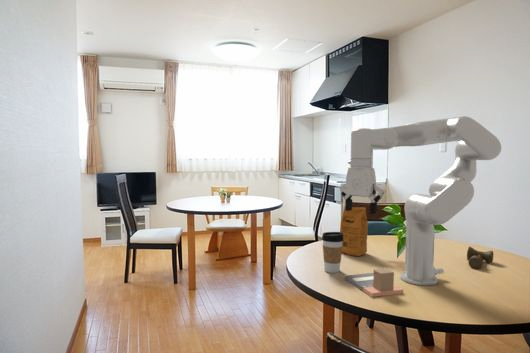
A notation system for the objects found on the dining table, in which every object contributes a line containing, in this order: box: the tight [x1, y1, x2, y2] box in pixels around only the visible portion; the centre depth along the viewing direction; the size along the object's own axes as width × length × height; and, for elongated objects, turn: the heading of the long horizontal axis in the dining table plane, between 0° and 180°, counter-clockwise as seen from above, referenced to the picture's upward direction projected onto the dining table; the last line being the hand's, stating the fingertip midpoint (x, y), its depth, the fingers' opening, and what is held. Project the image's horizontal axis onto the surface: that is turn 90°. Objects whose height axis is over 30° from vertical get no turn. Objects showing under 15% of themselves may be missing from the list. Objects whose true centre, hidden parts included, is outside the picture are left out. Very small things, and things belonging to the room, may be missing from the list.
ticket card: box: [344, 272, 374, 292], centre depth 126 cm, size 12×12×1 cm
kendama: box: [466, 246, 494, 270], centre depth 150 cm, size 6×10×20 cm
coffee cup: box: [321, 231, 344, 274], centre depth 139 cm, size 8×8×15 cm
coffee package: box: [339, 206, 369, 257], centre depth 164 cm, size 10×12×22 cm
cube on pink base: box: [362, 267, 404, 298], centre depth 118 cm, size 12×5×7 cm, turn 107°
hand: (360, 212), depth 125 cm, fingers open, 9 cm apart
